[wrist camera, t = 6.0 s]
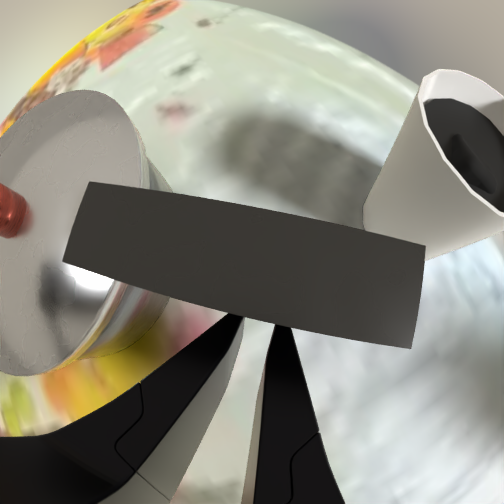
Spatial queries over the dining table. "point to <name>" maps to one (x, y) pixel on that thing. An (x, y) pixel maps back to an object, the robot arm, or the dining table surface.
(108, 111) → the lid
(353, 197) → the dining table surface
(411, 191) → the white cup
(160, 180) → the pot
